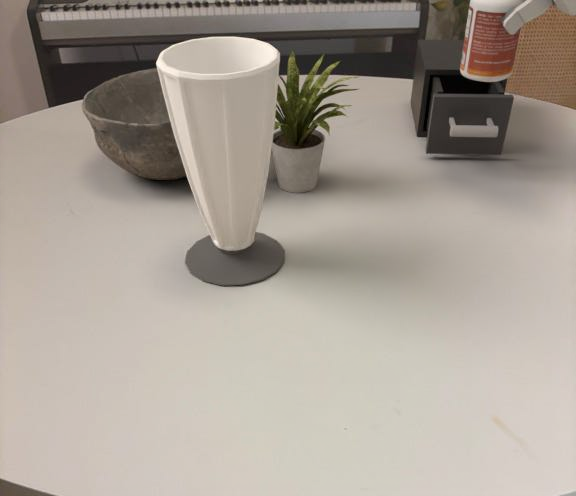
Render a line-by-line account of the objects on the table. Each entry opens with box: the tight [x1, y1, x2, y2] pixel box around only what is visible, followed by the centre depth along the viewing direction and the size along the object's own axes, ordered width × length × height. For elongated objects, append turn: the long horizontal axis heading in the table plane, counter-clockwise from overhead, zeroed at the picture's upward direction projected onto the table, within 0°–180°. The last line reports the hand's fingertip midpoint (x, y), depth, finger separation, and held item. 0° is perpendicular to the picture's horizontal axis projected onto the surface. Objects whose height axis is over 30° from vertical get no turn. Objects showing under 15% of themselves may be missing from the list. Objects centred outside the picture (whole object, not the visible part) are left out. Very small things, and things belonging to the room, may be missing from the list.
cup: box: [155, 36, 285, 287], centre depth 66 cm, size 12×12×22 cm
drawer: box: [425, 75, 515, 156], centre depth 90 cm, size 17×10×8 cm, turn 176°
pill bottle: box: [460, 0, 526, 82], centre depth 74 cm, size 6×6×11 cm
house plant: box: [271, 50, 359, 194], centre depth 80 cm, size 14×14×16 cm
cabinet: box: [410, 39, 509, 138], centre depth 98 cm, size 14×12×10 cm
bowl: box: [81, 67, 187, 181], centre depth 87 cm, size 21×21×10 cm
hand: (489, 19), depth 74 cm, fingers closed on pill bottle, 6 cm apart
